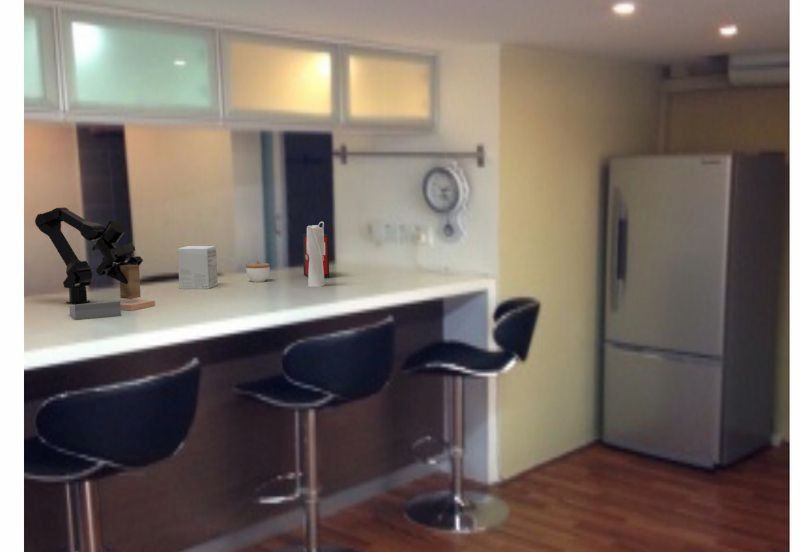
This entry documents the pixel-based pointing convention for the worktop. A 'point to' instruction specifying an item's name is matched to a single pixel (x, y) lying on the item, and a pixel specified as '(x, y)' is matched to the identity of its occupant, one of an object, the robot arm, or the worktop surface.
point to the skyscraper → (315, 255)
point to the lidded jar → (258, 271)
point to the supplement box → (197, 267)
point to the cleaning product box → (324, 257)
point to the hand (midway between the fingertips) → (132, 282)
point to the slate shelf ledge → (95, 310)
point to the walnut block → (130, 282)
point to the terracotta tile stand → (135, 304)
